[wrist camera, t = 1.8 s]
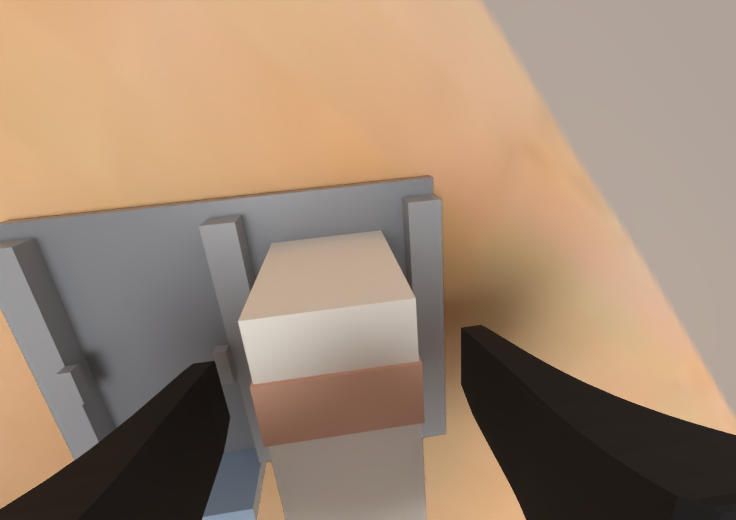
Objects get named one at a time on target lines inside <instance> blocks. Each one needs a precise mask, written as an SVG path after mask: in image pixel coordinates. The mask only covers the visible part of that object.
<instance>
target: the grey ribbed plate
mask: <svg viewBox="0 0 736 520" xmlns="http://www.w3.org/2000/svg"><path fill="white" fill-rule="evenodd" d="M379 230H381V231H382V233H383V235H384V237H385V239H386V241H387V243H388V245H389V247H390V249H391V251H392V253H393V255H394V257H395V259H396V261H397V263H398V264H399V266H400V268H401V270H402V272H403V274H404V276H405V278H406V280H407V282H408V284H409V286H410V288H411V290H412V292H413V294H414V296H415V298H416V314H417V334H418V354H419V357H420V359H421V362H422V370H423V392H424V414H425V423H422V436H423V438H424V437H431V436H437V435H443V434H446V401H445V351H444V302H443V252H442V202H441V199H440V198H439V197H437V196H436V195H435V194H433V178H432V177H431V176H420V177H411V178H401V179H392V180H383V181H373V182H364V183H355V184H345V185H336V186H327V187H317V188H308V189H299V190H289V191H280V192H271V193H261V194H252V195H243V196H233V197H224V198H215V199H205V200H196V201H186V202H177V203H168V204H158V205H149V206H140V207H130V208H121V209H112V210H102V211H93V212H84V213H74V214H65V215H56V216H46V217H37V218H28V219H18V220H9V221H3V222H0V309H1V311H2V313H3V315H4V317H5V319H6V321H7V323H8V325H9V327H10V329H11V331H12V333H13V335H14V337H15V339H16V341H17V344H18V346H19V348H20V350H21V352H22V354H23V356H24V358H25V360H26V362H27V364H28V366H29V368H30V370H31V372H32V374H33V376H34V378H35V380H36V382H37V385H38V387H39V389H40V391H41V393H42V395H43V397H44V399H45V401H46V403H47V405H48V407H49V409H50V411H51V413H52V415H53V417H54V419H55V421H56V423H57V426H58V428H59V430H60V432H61V434H62V436H63V438H64V440H65V442H66V444H67V446H68V448H69V450H70V452H71V454H72V456H73V458H74V460H76V459H77V458H79V457H80V456H81V455H83V454H84V453H85V452H87V451H88V450H89V449H91V448H92V447H93V446H95V445H96V444H97V443H99V442H100V441H101V440H102V439H104V438H105V437H106V436H107V435H108V434H110V433H111V432H112V431H113V430H115V429H116V428H117V427H118V426H120V425H121V424H122V423H123V422H125V421H126V420H127V419H128V418H129V417H131V416H132V415H133V414H134V413H136V412H137V411H138V410H139V409H140V408H141V407H143V406H144V405H145V404H146V403H147V402H148V401H149V400H151V399H152V398H153V397H154V396H155V395H156V394H158V393H159V392H160V391H161V390H162V389H163V388H164V387H166V386H167V385H168V384H169V383H170V382H171V381H172V380H173V379H175V378H176V377H177V376H178V375H179V374H180V373H182V372H183V371H184V370H185V369H186V368H188V367H189V366H190V365H192V364H194V363H201V362H209V361H215V364H216V367H217V371H218V375H219V378H220V382H221V385H222V389H223V392H224V396H225V400H226V403H227V407H228V410H229V414H230V422H229V428H228V434H227V439H226V444H225V449H224V453H223V456H222V460H221V463H220V466H219V469H218V472H217V475H216V478H215V481H214V485H213V488H212V491H211V494H210V497H209V500H208V503H207V506H206V509H205V512H204V515H203V518H202V520H257V514H258V508H259V502H260V496H261V490H262V485H263V479H264V473H265V467H266V462H269V461H271V457H270V453H269V449H268V447H264V444H263V440H262V436H261V432H260V428H259V424H258V420H257V415H256V411H255V407H254V403H253V399H252V395H251V391H250V385H251V382H252V378H251V374H250V370H249V365H248V361H247V357H246V353H245V349H244V345H243V340H242V336H241V332H240V328H239V324H238V320H239V318H240V315H241V313H242V311H243V308H244V306H245V304H246V301H247V299H248V297H249V294H250V292H251V290H252V288H253V285H254V283H255V281H256V278H257V276H258V274H259V271H260V269H261V267H262V264H263V262H264V260H265V258H266V255H267V253H268V251H269V248H270V246H271V244H272V243H276V242H285V241H293V240H302V239H310V238H319V237H328V236H336V235H345V234H353V233H362V232H371V231H379Z"/></svg>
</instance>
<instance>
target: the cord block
mask: <svg viewBox="0 0 736 520" xmlns="http://www.w3.org/2000/svg"><path fill="white" fill-rule="evenodd" d="M238 324H239V328H240V332H241V336H242V340H243V345H244V349H245V353H246V357H247V361H248V365H249V370H250V374H251V378H252V382H251V385H250V391H251V395H252V399H253V403H254V407H255V411H256V415H257V420H258V424H259V428H260V432H261V436H262V440H263V444H264V447H268V449H269V453H270V457H271V461H272V465H273V469H274V473H275V478H276V482H277V486H278V490H279V494H280V498H281V503H282V507H283V511H284V515H285V519H286V520H427V518H426V498H425V477H424V457H423V436H422V423H425V414H424V392H423V370H422V362H421V359H420V357H419V354H418V334H417V314H416V298H415V296H414V294H413V292H412V290H411V288H410V286H409V284H408V282H407V280H406V278H405V276H404V274H403V272H402V270H401V268H400V266H399V264H398V263H397V261H396V259H395V257H394V255H393V253H392V251H391V249H390V247H389V245H388V243H387V241H386V239H385V237H384V235H383V233H382V231H381V230H379V231H371V232H362V233H353V234H345V235H336V236H328V237H319V238H310V239H302V240H293V241H285V242H276V243H272V244H271V246H270V248H269V251H268V253H267V255H266V258H265V260H264V262H263V264H262V267H261V269H260V271H259V274H258V276H257V278H256V281H255V283H254V285H253V288H252V290H251V292H250V294H249V297H248V299H247V301H246V304H245V306H244V308H243V311H242V313H241V315H240V318H239V320H238Z"/></svg>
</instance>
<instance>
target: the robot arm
mask: <svg viewBox="0 0 736 520" xmlns="http://www.w3.org/2000/svg"><path fill="white" fill-rule="evenodd" d="M461 385H462V388H463V390H464V393H465V396H466V398H467V401H468V404H469V406H470V409H471V411H472V414H473V416H474V418H475V420H476V422H477V424H478V426H479V427H480V429H481V431H482V433H483V435H484V437H485V439H486V441H487V442H488V444H489V446H490V448H491V450H492V452H493V454H494V455H495V457H496V459H497V461H498V463H499V465H500V467H501V469H502V470H503V472H504V474H505V476H506V478H507V480H508V482H509V483H510V485H511V487H512V489H513V491H514V493H515V495H516V497H517V500H518V502H519V504H520V506H521V508H522V511H523V513H524V515H525V518H526V520H736V435H733V434H729V433H725V432H722V431H718V430H715V429H712V428H708V427H705V426H701V425H698V424H694V423H691V422H688V421H684V420H681V419H678V418H675V417H672V416H669V415H666V414H663V413H660V412H657V411H654V410H652V409H649V408H646V407H643V406H640V405H638V404H635V403H632V402H629V401H627V400H624V399H622V398H619V397H617V396H614V395H612V394H610V393H607V392H605V391H603V390H600V389H598V388H596V387H593V386H591V385H589V384H587V383H585V382H582V381H580V380H578V379H576V378H574V377H572V376H570V375H568V374H566V373H564V372H562V371H560V370H558V369H556V368H555V367H553V366H551V365H549V364H547V363H545V362H543V361H542V360H540V359H538V358H536V357H535V356H533V355H531V354H529V353H528V352H526V351H524V350H523V349H521V348H519V347H518V346H516V345H514V344H513V343H511V342H509V341H508V340H506V339H504V338H503V337H501V336H499V335H498V334H496V333H494V332H493V331H491V330H489V329H488V328H486V327H484V326H482V325H478V326H470V327H463V328H461ZM229 422H230V414H229V410H228V407H227V403H226V400H225V396H224V392H223V389H222V385H221V382H220V378H219V375H218V371H217V367H216V364H215V361H209V362H201V363H194V364H192V365H190V366H189V367H188V368H186V369H185V370H184V371H183V372H182V373H180V374H179V375H178V376H177V377H176V378H175V379H173V380H172V381H171V382H170V383H169V384H168V385H167V386H166V387H164V388H163V389H162V390H161V391H160V392H159V393H158V394H156V395H155V396H154V397H153V398H152V399H151V400H149V401H148V402H147V403H146V404H145V405H144V406H143V407H141V408H140V409H139V410H138V411H137V412H136V413H134V414H133V415H132V416H131V417H129V418H128V419H127V420H126V421H125V422H123V423H122V424H121V425H120V426H118V427H117V428H116V429H115V430H113V431H112V432H111V433H110V434H108V435H107V436H106V437H105V438H104V439H102V440H101V441H100V442H99V443H97V444H96V445H95V446H93V447H92V448H91V449H89V450H88V451H87V452H85V453H84V454H83V455H81V456H80V457H79V458H77V459H76V460H74V461H73V462H72V463H70V464H69V465H67V466H66V467H64V468H63V469H62V470H60V471H59V472H57V473H56V474H54V475H53V476H52V477H50V478H49V479H47V480H46V481H44V482H43V483H41V484H40V485H38V486H36V487H35V488H33V489H32V490H30V491H28V492H27V493H25V494H24V495H22V496H21V497H19V498H17V499H16V500H14V501H13V502H11V503H10V504H8V505H6V506H5V507H3V508H2V509H0V520H202V518H203V515H204V512H205V509H206V506H207V503H208V500H209V497H210V494H211V491H212V488H213V485H214V481H215V478H216V475H217V472H218V469H219V466H220V463H221V460H222V456H223V453H224V449H225V444H226V439H227V434H228V428H229Z"/></svg>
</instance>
